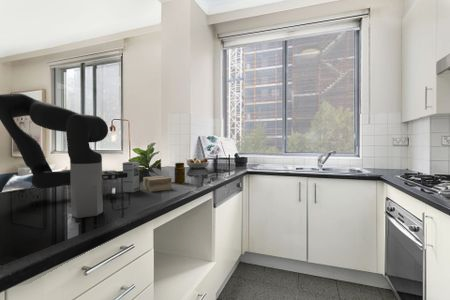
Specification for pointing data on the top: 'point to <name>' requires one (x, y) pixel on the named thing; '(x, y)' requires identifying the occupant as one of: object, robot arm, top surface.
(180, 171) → the condiment
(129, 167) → the syrup box
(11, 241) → the top surface
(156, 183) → the wooden block
